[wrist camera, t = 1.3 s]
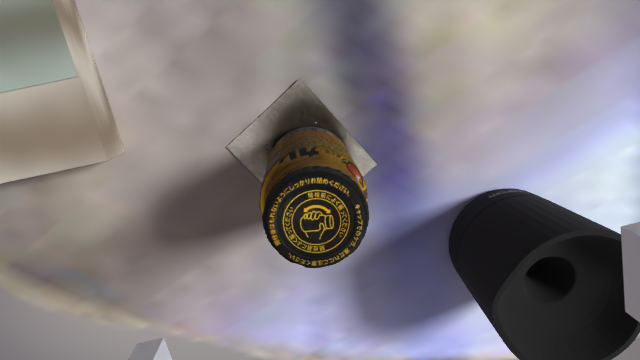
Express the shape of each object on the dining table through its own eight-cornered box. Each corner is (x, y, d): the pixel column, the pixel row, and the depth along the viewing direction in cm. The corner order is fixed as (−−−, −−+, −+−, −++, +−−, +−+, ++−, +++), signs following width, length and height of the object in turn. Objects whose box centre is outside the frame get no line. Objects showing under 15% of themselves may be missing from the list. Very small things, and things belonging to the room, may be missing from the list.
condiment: (305, 225, 34) (310, 310, 22) (226, 146, 32) (188, 193, 20) (376, 163, 33) (421, 218, 21) (300, 77, 31) (304, 87, 19)
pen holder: (580, 214, 35) (689, 272, 25) (513, 308, 37) (591, 395, 27) (484, 160, 33) (562, 201, 24) (420, 261, 35) (467, 336, 26)
